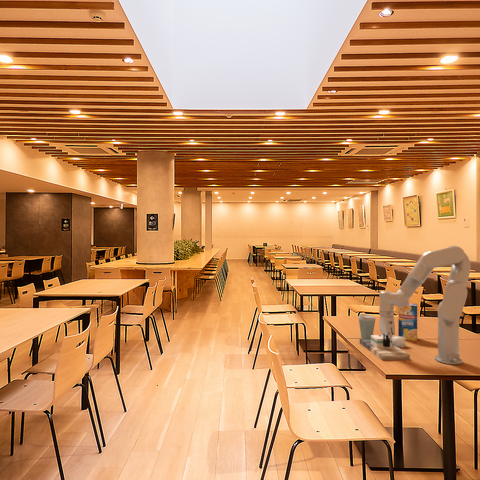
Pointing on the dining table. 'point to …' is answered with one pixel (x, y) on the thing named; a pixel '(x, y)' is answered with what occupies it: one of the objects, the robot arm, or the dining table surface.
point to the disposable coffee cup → (366, 325)
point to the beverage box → (407, 321)
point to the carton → (379, 341)
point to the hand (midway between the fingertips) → (386, 346)
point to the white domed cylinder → (398, 341)
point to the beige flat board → (386, 351)
